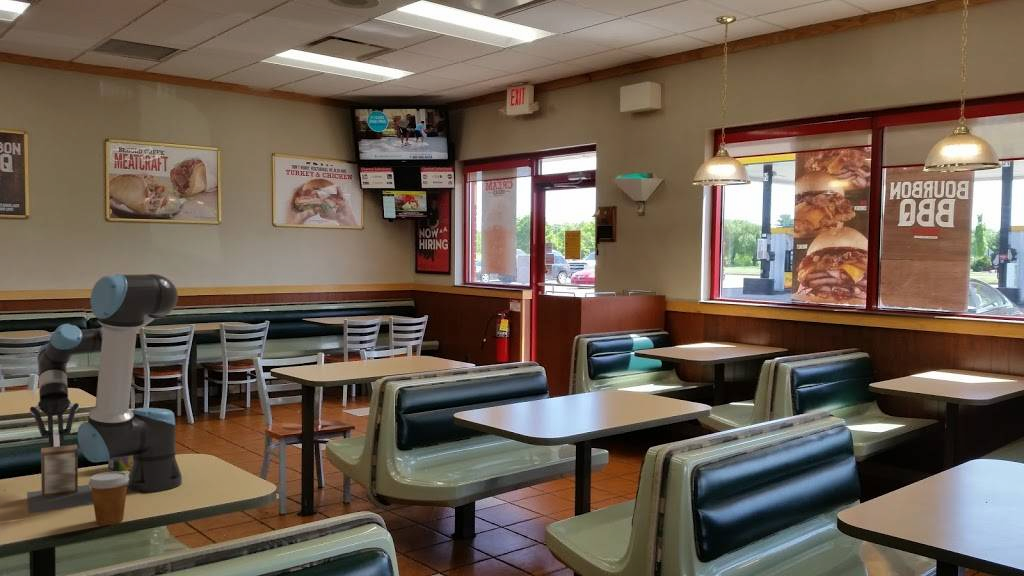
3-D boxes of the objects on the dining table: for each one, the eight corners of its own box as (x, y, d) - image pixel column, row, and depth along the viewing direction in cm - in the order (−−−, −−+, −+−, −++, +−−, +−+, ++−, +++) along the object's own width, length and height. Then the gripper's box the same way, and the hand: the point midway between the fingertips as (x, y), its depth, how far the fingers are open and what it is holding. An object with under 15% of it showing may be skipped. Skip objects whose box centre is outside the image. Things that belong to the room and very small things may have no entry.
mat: (89, 486, 249) (89, 484, 249) (95, 505, 231) (95, 503, 230) (27, 493, 241) (27, 492, 241) (28, 514, 222) (28, 513, 222)
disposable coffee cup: (133, 523, 216) (132, 477, 215) (92, 529, 210) (91, 482, 210) (126, 513, 224) (125, 469, 223) (86, 519, 218) (86, 474, 218)
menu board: (76, 487, 244) (76, 444, 240) (77, 492, 241) (77, 449, 237) (41, 492, 239) (41, 448, 235) (41, 497, 236) (41, 453, 233)
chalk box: (147, 467, 271) (146, 422, 270) (118, 473, 264) (117, 426, 263) (135, 462, 277) (135, 418, 276) (107, 468, 270) (106, 422, 270)
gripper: (77, 394, 258) (82, 459, 245) (28, 398, 252) (30, 464, 238) (78, 379, 254) (83, 444, 240) (28, 382, 247) (30, 450, 233)
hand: (57, 454), depth 239 cm, fingers closed
